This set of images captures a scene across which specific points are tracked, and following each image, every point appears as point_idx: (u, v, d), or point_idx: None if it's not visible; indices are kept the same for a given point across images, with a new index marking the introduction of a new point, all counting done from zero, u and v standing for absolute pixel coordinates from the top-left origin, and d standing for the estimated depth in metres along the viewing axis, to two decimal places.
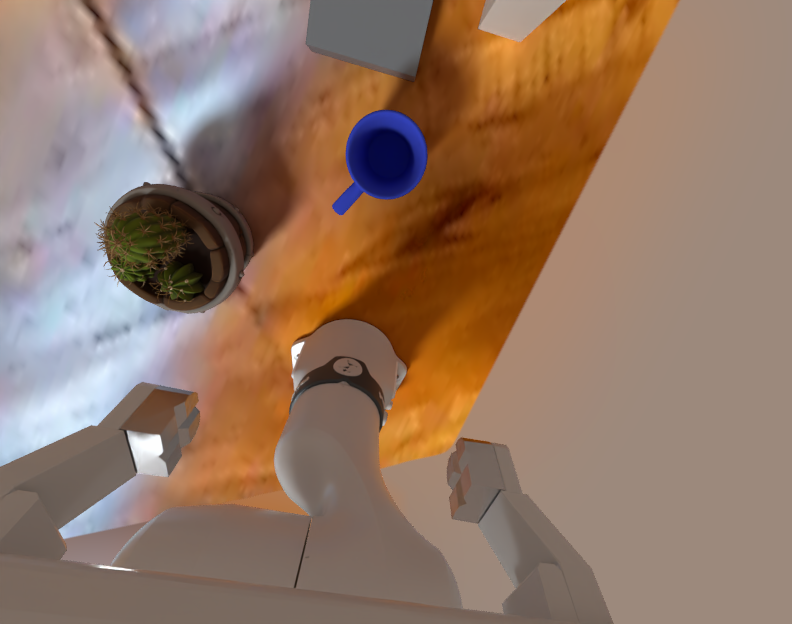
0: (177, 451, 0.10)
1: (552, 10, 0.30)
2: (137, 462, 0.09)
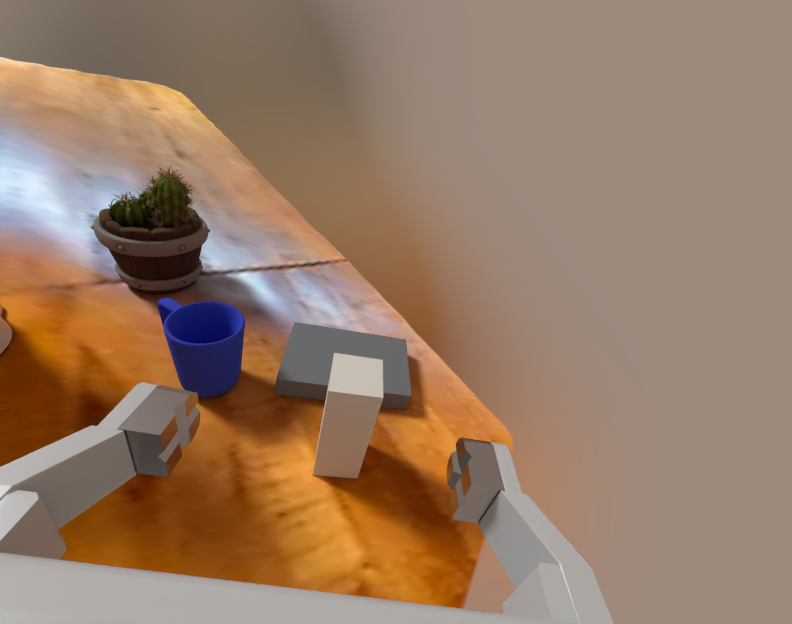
0: (177, 451, 0.10)
1: (322, 421, 0.33)
2: (137, 462, 0.09)
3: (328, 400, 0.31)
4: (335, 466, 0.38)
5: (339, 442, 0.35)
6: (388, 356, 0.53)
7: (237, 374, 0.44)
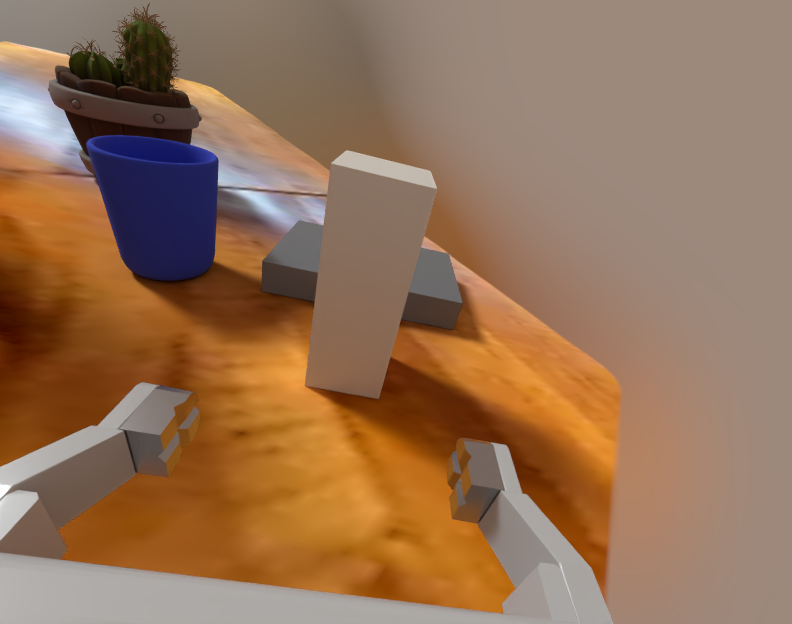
0: (176, 451, 0.10)
1: None
2: (137, 462, 0.09)
3: (331, 192, 0.16)
4: (343, 367, 0.22)
5: (349, 308, 0.20)
6: (426, 263, 0.37)
7: (206, 252, 0.30)
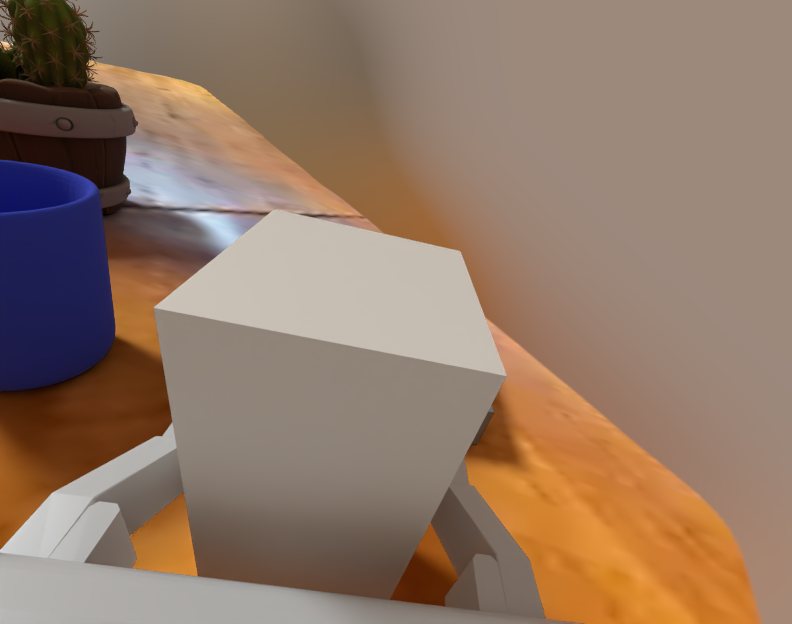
0: None
1: None
2: None
3: (176, 379, 0.05)
4: None
5: (279, 573, 0.09)
6: None
7: (88, 340, 0.19)
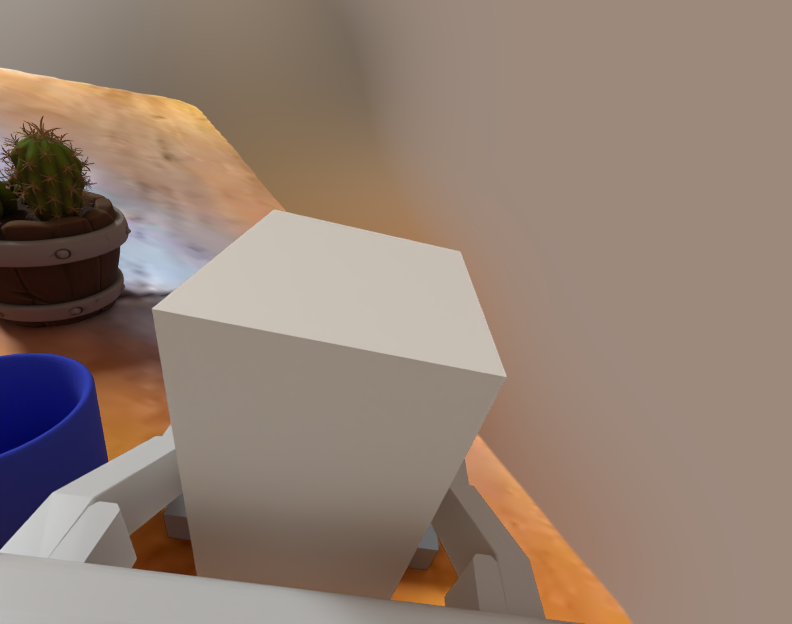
0: None
1: None
2: None
3: (175, 380, 0.05)
4: None
5: (278, 574, 0.09)
6: None
7: None
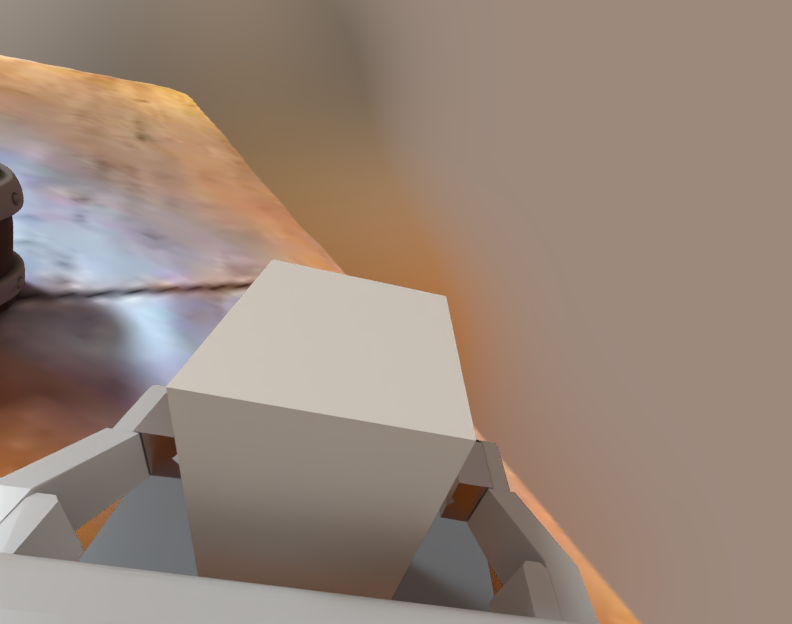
0: None
1: None
2: (151, 464, 0.09)
3: (184, 441, 0.06)
4: None
5: None
6: (430, 568, 0.17)
7: None
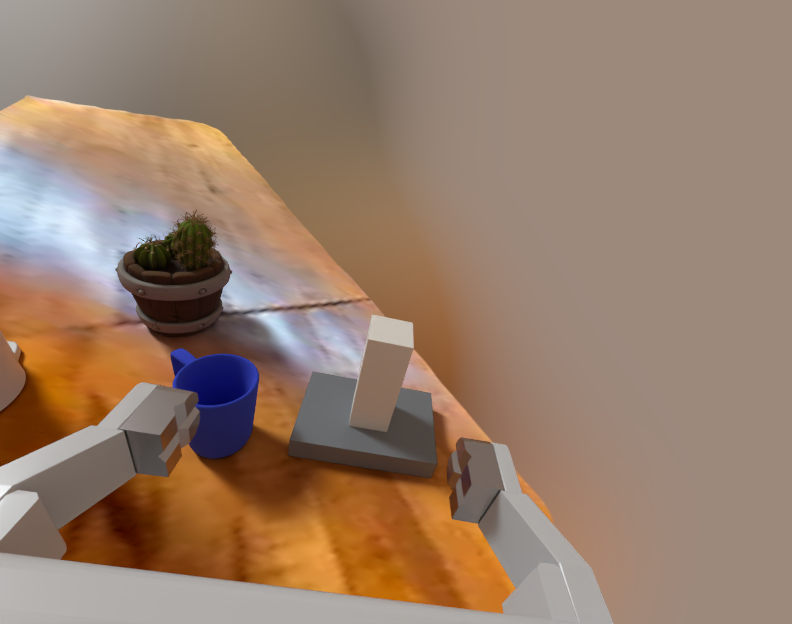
0: (177, 451, 0.10)
1: (361, 370, 0.39)
2: (137, 462, 0.09)
3: (367, 348, 0.37)
4: (369, 417, 0.43)
5: (373, 391, 0.41)
6: (412, 413, 0.48)
7: (248, 433, 0.40)
